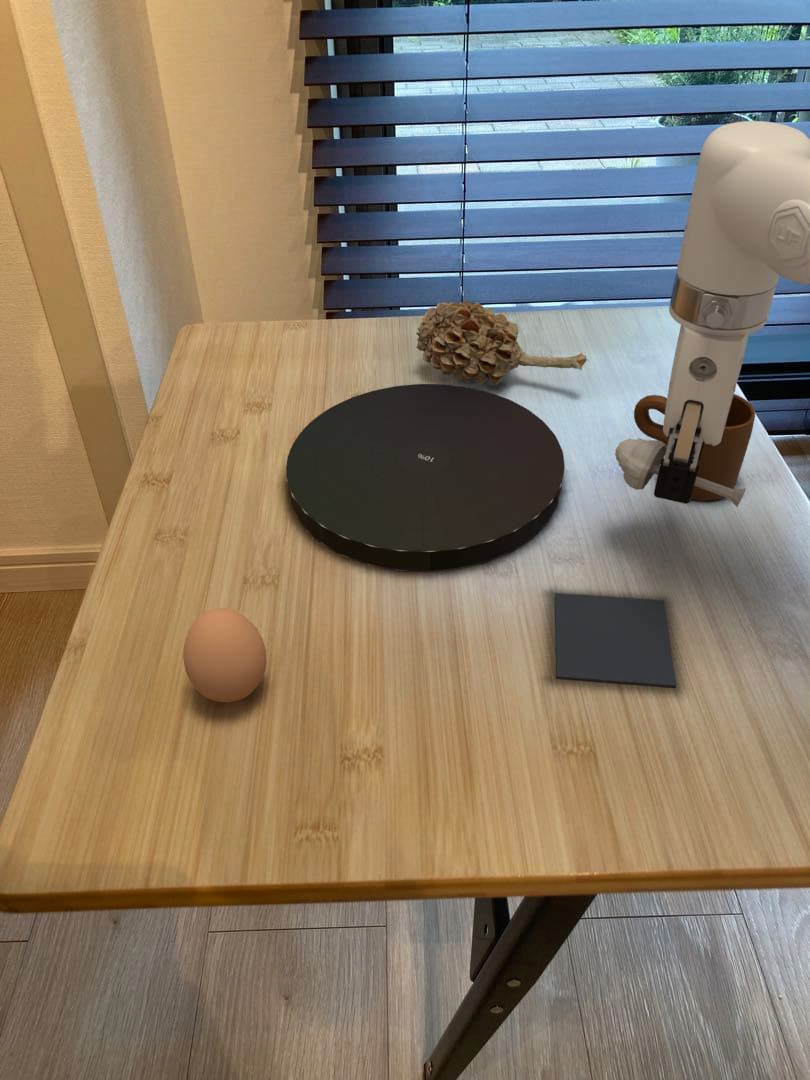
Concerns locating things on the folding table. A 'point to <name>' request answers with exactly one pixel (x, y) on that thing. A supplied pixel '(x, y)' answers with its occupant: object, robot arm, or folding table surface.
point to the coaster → (613, 640)
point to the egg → (224, 655)
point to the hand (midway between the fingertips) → (677, 475)
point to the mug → (715, 460)
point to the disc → (425, 477)
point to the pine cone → (477, 344)
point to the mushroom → (645, 461)
